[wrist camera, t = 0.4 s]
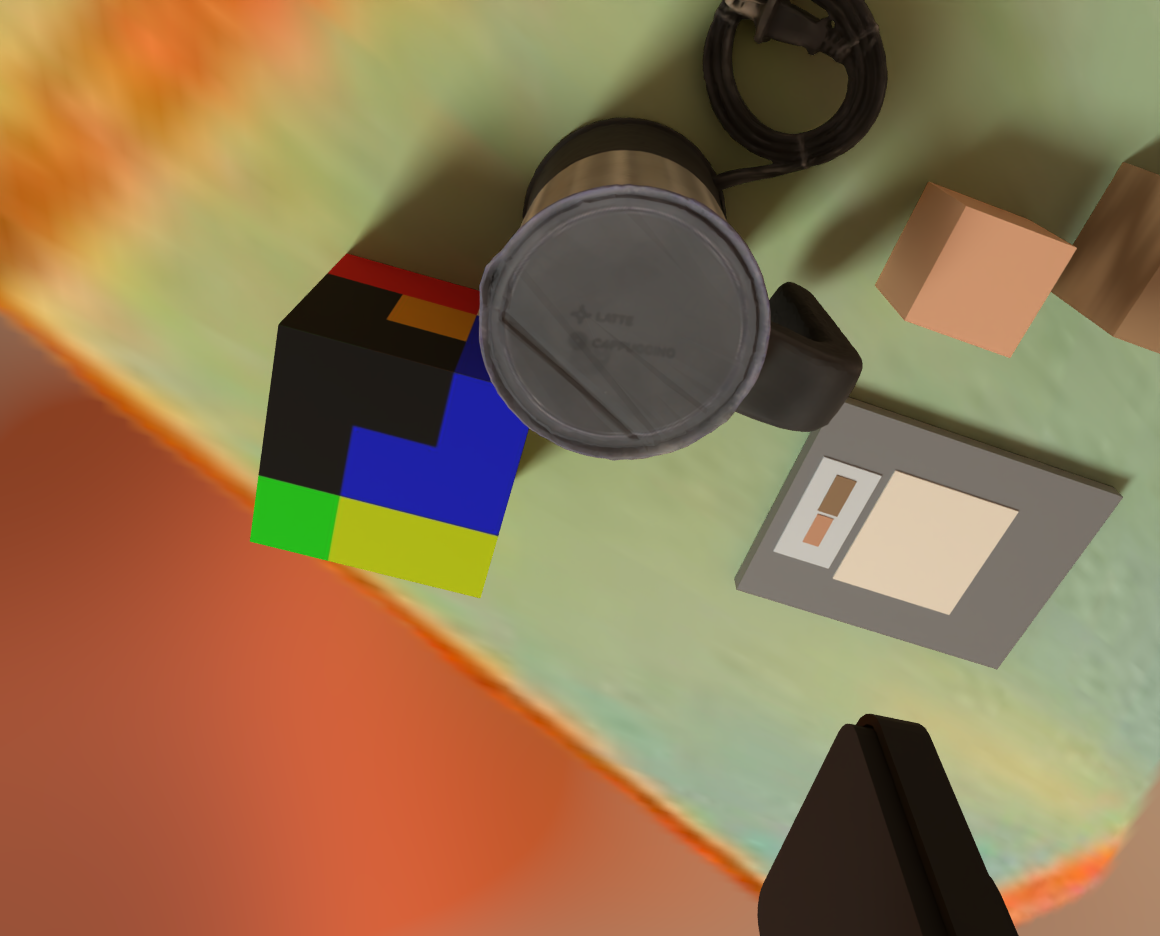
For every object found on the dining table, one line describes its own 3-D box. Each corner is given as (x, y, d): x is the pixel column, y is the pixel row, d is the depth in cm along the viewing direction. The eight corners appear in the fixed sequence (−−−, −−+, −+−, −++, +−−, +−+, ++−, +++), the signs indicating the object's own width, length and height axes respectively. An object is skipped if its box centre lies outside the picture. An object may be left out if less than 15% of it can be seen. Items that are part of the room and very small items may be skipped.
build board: (831, 391, 45) (837, 400, 44) (1113, 487, 47) (1124, 498, 46) (734, 578, 51) (736, 591, 50) (990, 657, 53) (998, 671, 52)
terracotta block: (927, 181, 40) (966, 206, 36) (1027, 218, 41) (1077, 247, 37) (874, 284, 43) (904, 320, 38) (969, 319, 43) (1010, 357, 39)
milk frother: (511, 307, 44) (468, 448, 31) (540, -73, 36) (500, -101, 23) (805, 341, 44) (886, 494, 31) (893, -29, 37) (1049, -32, 24)
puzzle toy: (553, 311, 44) (538, 395, 35) (504, 485, 48) (480, 598, 40) (347, 252, 43) (278, 324, 34) (317, 436, 47) (249, 541, 39)
